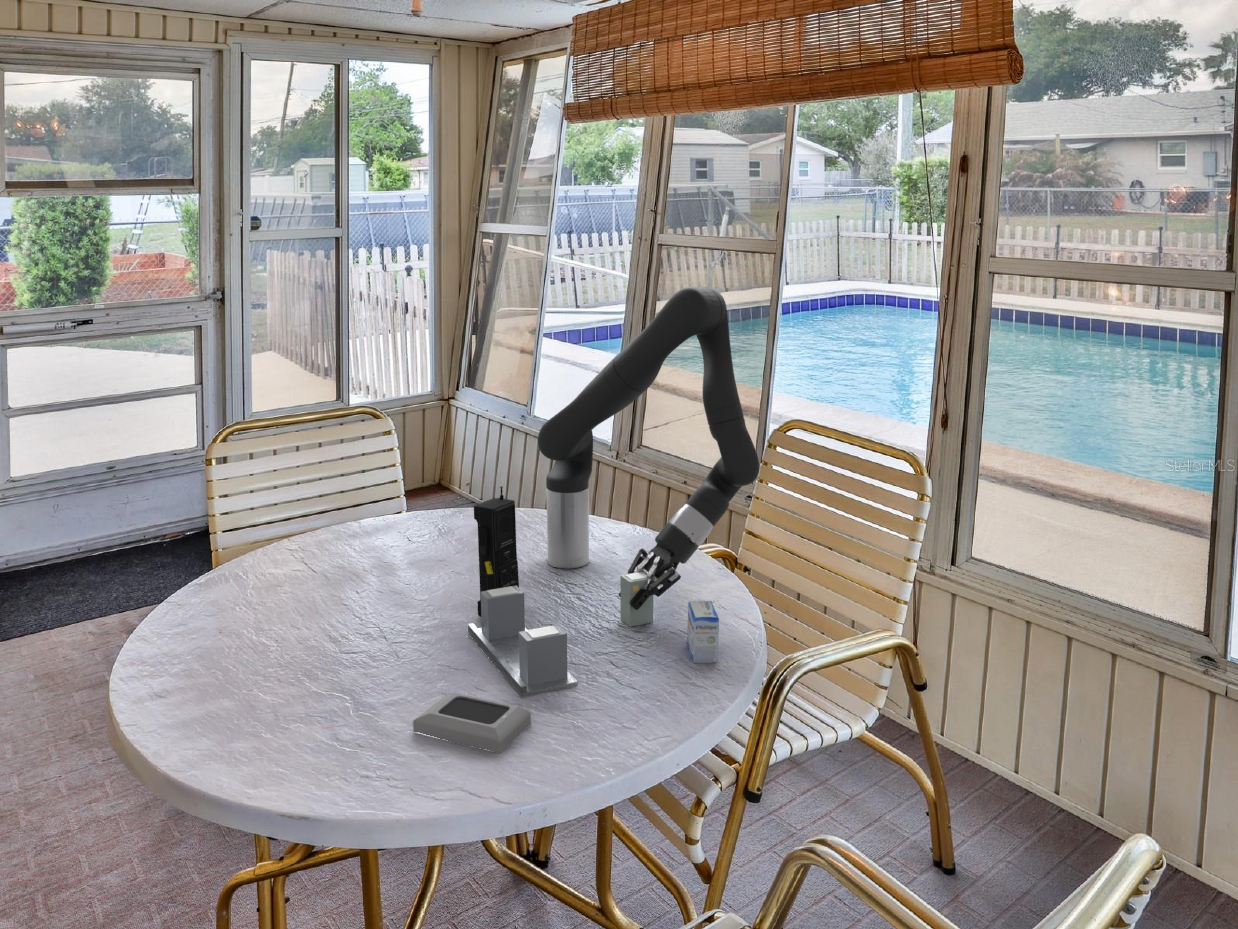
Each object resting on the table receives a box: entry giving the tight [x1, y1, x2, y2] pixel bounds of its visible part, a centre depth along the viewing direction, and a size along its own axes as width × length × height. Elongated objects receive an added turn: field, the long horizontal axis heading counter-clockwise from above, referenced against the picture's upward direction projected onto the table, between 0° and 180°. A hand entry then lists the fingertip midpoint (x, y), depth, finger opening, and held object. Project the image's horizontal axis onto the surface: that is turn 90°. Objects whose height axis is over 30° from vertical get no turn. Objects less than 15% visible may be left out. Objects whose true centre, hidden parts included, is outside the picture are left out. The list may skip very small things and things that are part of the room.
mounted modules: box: [480, 586, 568, 686], centre depth 180 cm, size 24×7×8 cm, turn 26°
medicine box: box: [686, 600, 720, 664], centre depth 182 cm, size 8×4×9 cm, turn 5°
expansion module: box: [619, 571, 654, 628], centre depth 196 cm, size 4×5×9 cm
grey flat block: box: [412, 692, 532, 754], centre depth 157 cm, size 10×4×15 cm
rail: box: [467, 622, 579, 699], centre depth 181 cm, size 28×10×2 cm, turn 26°
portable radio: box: [473, 486, 520, 618], centre depth 197 cm, size 8×6×25 cm
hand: (627, 602), depth 196 cm, fingers closed on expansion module, 4 cm apart
